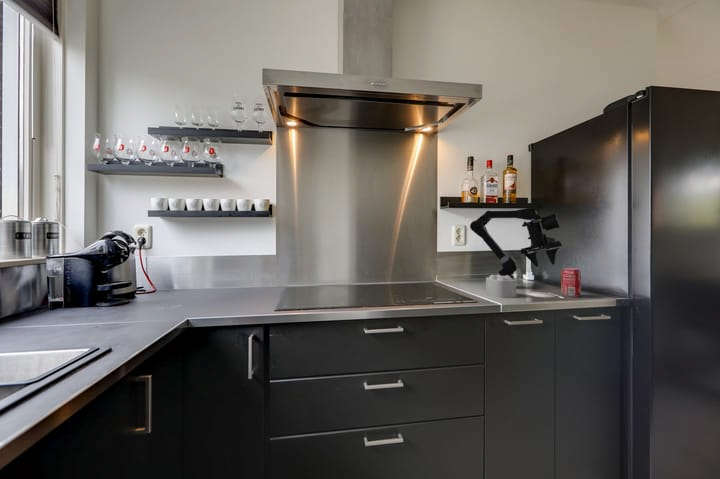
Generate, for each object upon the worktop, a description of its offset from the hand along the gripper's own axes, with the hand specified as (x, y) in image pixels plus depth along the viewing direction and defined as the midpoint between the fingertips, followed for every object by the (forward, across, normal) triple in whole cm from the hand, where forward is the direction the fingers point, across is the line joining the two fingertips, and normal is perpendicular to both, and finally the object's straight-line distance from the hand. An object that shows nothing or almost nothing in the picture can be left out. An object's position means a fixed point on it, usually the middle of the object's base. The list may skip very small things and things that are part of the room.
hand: (545, 265), depth 148 cm
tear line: (+13, -7, +7) cm, 17 cm away
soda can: (+15, -10, +2) cm, 18 cm away
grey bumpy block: (+8, 0, +29) cm, 30 cm away
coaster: (+12, -5, +13) cm, 18 cm away
